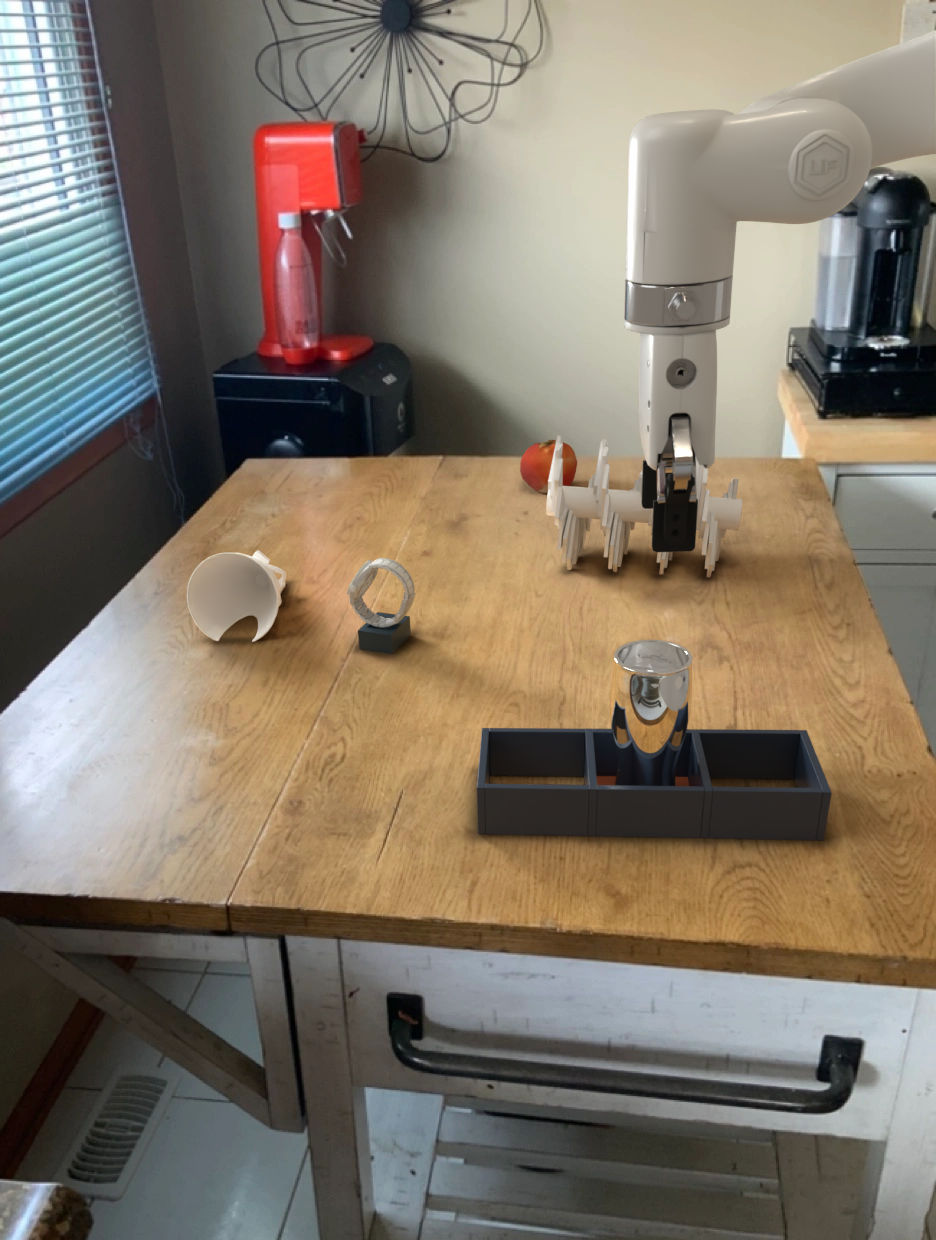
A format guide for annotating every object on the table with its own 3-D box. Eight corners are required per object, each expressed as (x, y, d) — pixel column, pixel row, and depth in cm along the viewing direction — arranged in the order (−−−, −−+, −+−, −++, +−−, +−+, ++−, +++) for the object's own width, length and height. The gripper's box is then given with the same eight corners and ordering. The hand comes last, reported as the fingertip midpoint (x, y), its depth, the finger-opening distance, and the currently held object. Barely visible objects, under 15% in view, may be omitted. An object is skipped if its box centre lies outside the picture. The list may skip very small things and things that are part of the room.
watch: (364, 632, 140) (358, 549, 135) (424, 641, 137) (420, 556, 132) (344, 652, 136) (337, 566, 130) (405, 661, 133) (400, 574, 127)
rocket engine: (264, 513, 152) (222, 532, 135) (329, 569, 153) (297, 595, 136) (214, 577, 156) (168, 603, 139) (279, 632, 156) (241, 664, 139)
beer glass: (654, 774, 107) (664, 631, 100) (698, 811, 101) (712, 663, 94) (591, 793, 105) (595, 648, 98) (632, 832, 99) (640, 682, 92)
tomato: (581, 496, 180) (582, 447, 176) (523, 500, 180) (523, 450, 176) (572, 478, 188) (573, 431, 184) (517, 482, 188) (516, 434, 184)
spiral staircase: (727, 612, 149) (538, 594, 154) (734, 516, 158) (556, 502, 163) (747, 513, 134) (537, 497, 139) (754, 413, 143) (557, 402, 149)
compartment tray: (799, 780, 106) (806, 729, 104) (823, 846, 97) (832, 792, 95) (482, 777, 110) (481, 727, 107) (477, 839, 101) (476, 787, 98)
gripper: (749, 324, 74) (730, 568, 82) (714, 281, 89) (701, 491, 97) (633, 330, 75) (626, 571, 83) (617, 286, 90) (612, 494, 98)
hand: (666, 527), depth 90 cm, fingers open, 9 cm apart
